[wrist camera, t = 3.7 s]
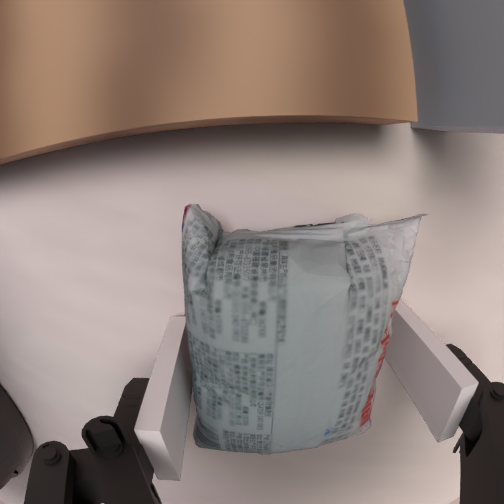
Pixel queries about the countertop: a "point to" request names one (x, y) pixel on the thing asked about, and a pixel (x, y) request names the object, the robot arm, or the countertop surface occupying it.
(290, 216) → the countertop surface
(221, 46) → the plinth
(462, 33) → the backboard
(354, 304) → the packaged food
